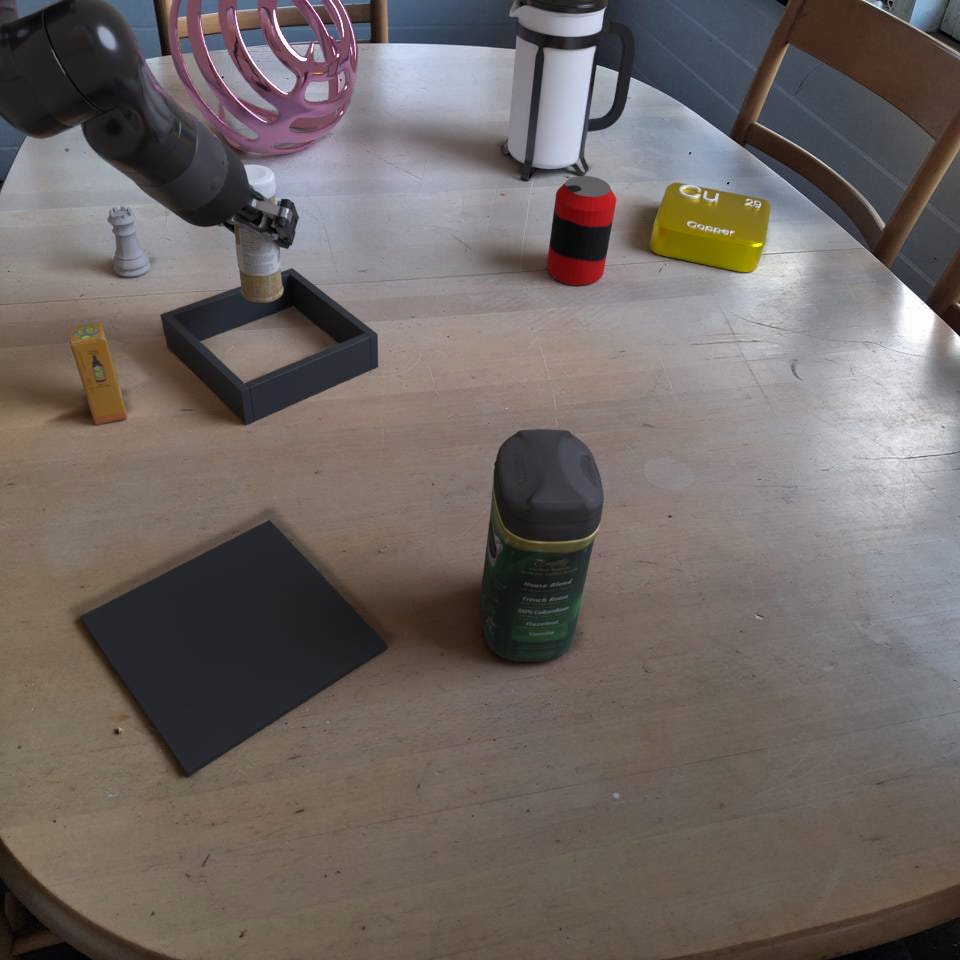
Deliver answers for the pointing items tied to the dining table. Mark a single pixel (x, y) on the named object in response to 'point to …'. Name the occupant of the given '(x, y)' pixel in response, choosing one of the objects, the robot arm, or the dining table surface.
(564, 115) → the coffee press
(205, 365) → the dark grey square frame
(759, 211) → the element tile
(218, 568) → the mat
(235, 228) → the sprinkles bottle
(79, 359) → the supplement box
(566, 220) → the soda can
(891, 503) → the dining table surface
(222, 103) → the spiral basket
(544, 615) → the coffee jar
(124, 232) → the rook chess piece
